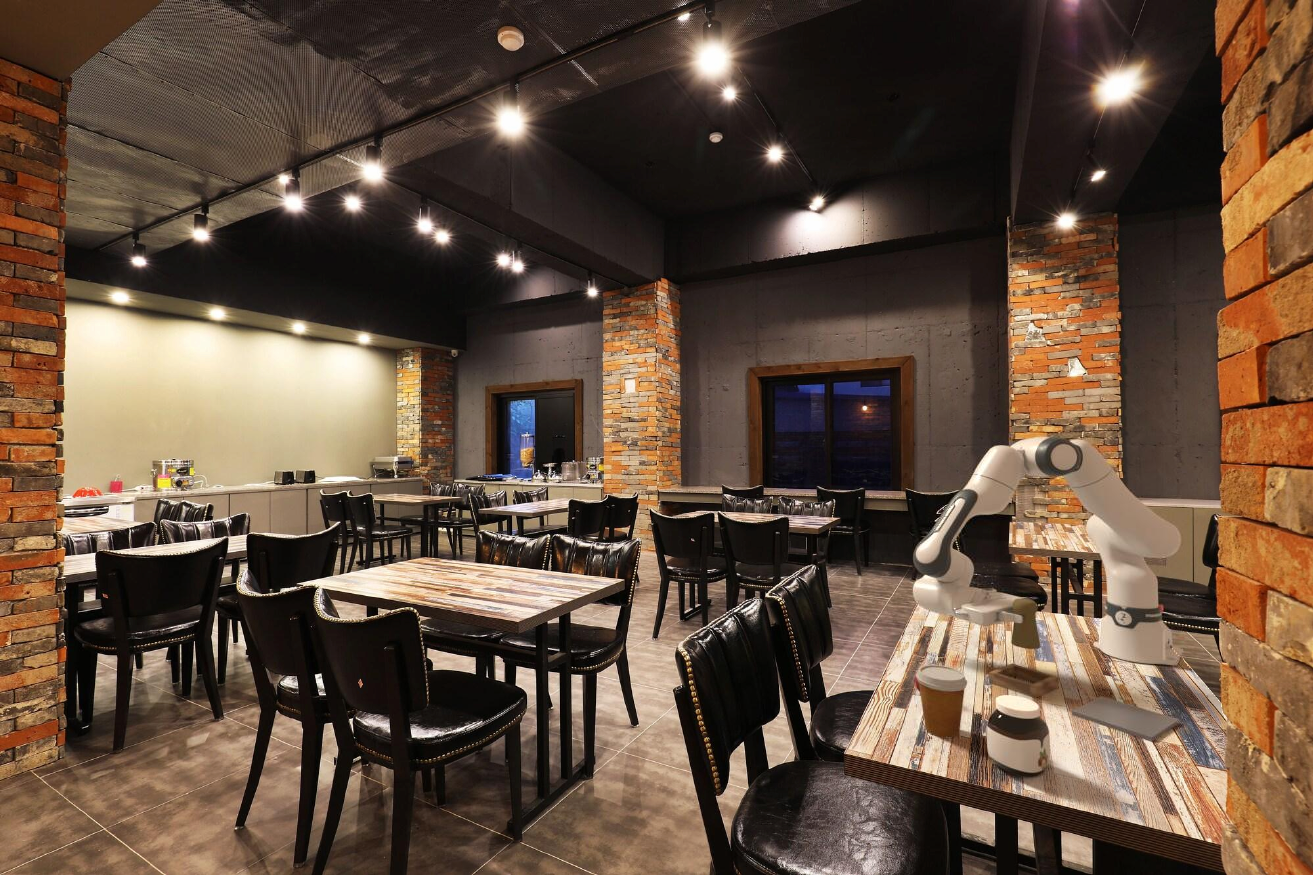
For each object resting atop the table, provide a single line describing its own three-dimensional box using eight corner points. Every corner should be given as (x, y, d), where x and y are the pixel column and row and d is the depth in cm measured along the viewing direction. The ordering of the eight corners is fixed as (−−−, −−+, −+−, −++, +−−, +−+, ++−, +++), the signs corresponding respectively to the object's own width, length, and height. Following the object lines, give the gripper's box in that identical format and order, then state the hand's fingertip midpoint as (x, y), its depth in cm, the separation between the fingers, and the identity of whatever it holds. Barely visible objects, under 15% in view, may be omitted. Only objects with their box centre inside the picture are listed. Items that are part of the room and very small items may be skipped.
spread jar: (1020, 784, 103) (1018, 716, 103) (963, 753, 113) (962, 692, 114) (1064, 768, 108) (1063, 704, 108) (1006, 740, 118) (1005, 681, 118)
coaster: (1101, 699, 136) (1101, 695, 136) (1179, 723, 125) (1179, 719, 125) (1072, 714, 129) (1072, 710, 129) (1151, 741, 117) (1151, 737, 117)
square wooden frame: (1012, 673, 153) (1012, 663, 153) (1058, 687, 143) (1058, 677, 143) (989, 682, 147) (988, 672, 147) (1035, 697, 138) (1035, 687, 138)
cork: (1044, 649, 141) (1043, 603, 141) (1016, 648, 142) (1015, 602, 143) (1034, 641, 147) (1033, 596, 147) (1007, 639, 148) (1006, 595, 148)
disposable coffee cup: (966, 746, 116) (964, 684, 116) (913, 734, 121) (912, 675, 121) (970, 727, 124) (969, 669, 124) (920, 716, 129) (919, 660, 129)
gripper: (949, 598, 150) (1005, 611, 139) (994, 587, 161) (1049, 598, 149) (949, 623, 150) (1006, 638, 139) (994, 610, 161) (1050, 623, 149)
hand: (1029, 617), depth 144 cm, fingers closed on cork, 4 cm apart
